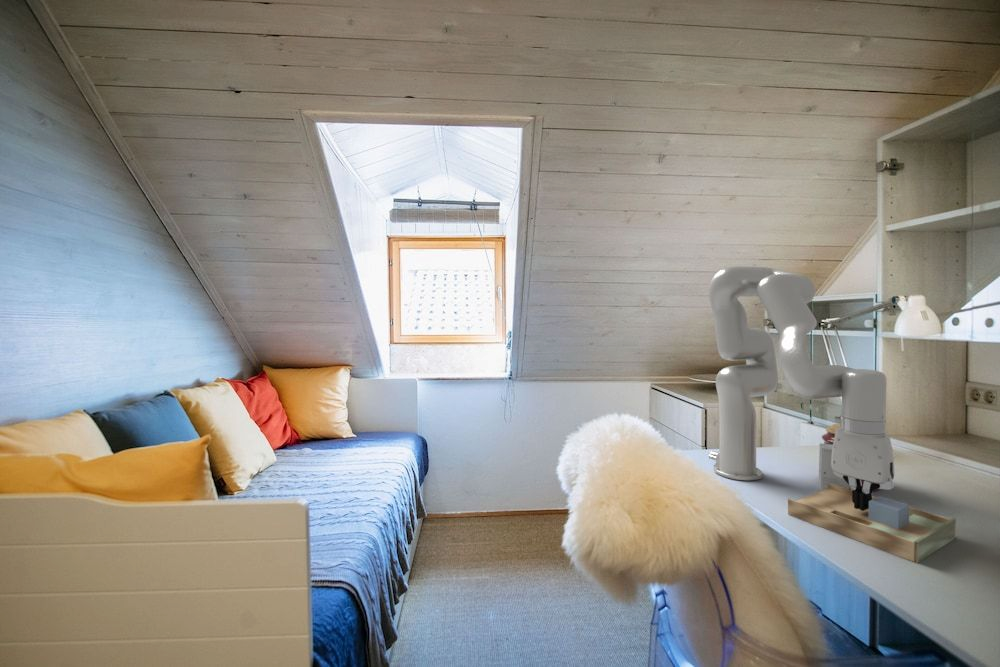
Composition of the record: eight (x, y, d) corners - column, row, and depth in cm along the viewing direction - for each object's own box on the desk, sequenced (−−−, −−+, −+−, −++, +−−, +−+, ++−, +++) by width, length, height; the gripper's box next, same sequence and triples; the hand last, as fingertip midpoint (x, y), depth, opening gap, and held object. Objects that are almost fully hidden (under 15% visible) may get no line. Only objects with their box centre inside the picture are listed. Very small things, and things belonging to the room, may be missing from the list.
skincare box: (820, 493, 113) (820, 447, 112) (817, 487, 117) (818, 442, 116) (850, 498, 110) (851, 450, 109) (846, 491, 114) (847, 445, 113)
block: (868, 519, 94) (868, 501, 93) (879, 514, 96) (880, 496, 96) (898, 529, 89) (898, 510, 89) (909, 523, 92) (909, 504, 91)
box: (787, 514, 102) (788, 497, 102) (828, 497, 110) (829, 482, 110) (917, 563, 82) (917, 542, 82) (955, 538, 90) (955, 519, 90)
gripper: (815, 421, 101) (815, 499, 102) (898, 436, 88) (897, 526, 88) (833, 417, 104) (832, 492, 105) (914, 431, 91) (913, 517, 92)
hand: (861, 508), depth 97 cm, fingers closed
